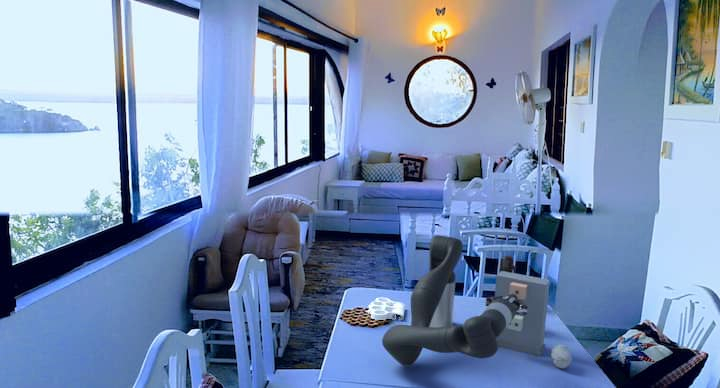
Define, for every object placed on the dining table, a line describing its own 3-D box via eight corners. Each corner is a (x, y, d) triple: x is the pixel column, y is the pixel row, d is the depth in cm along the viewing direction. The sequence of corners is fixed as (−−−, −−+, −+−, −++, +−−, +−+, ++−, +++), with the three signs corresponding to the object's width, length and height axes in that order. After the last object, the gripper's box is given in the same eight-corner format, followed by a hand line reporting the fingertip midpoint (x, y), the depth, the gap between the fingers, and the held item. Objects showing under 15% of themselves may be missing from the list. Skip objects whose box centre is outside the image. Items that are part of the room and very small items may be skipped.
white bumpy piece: (402, 325, 191) (362, 322, 193) (405, 307, 209) (369, 304, 211) (403, 316, 191) (363, 313, 193) (405, 299, 208) (369, 296, 210)
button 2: (520, 331, 167) (521, 320, 166) (504, 328, 169) (505, 316, 168) (522, 328, 170) (523, 316, 169) (507, 324, 172) (508, 313, 171)
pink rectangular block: (524, 300, 167) (525, 288, 166) (508, 296, 169) (509, 284, 169) (526, 296, 170) (527, 285, 169) (511, 293, 172) (512, 282, 172)
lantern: (516, 303, 216) (522, 232, 211) (513, 310, 209) (519, 237, 204) (496, 300, 219) (502, 230, 214) (492, 306, 212) (498, 234, 207)
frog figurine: (565, 361, 167) (567, 341, 166) (574, 372, 160) (577, 351, 159) (546, 361, 167) (548, 340, 166) (555, 372, 160) (557, 351, 159)
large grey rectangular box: (540, 356, 170) (547, 286, 166) (488, 343, 178) (494, 275, 174) (545, 347, 177) (551, 279, 173) (495, 335, 185) (500, 269, 181)
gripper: (522, 308, 145) (536, 289, 160) (476, 298, 152) (493, 281, 166) (520, 333, 146) (534, 313, 161) (474, 322, 153) (491, 303, 168)
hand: (513, 297), depth 164 cm, fingers closed
